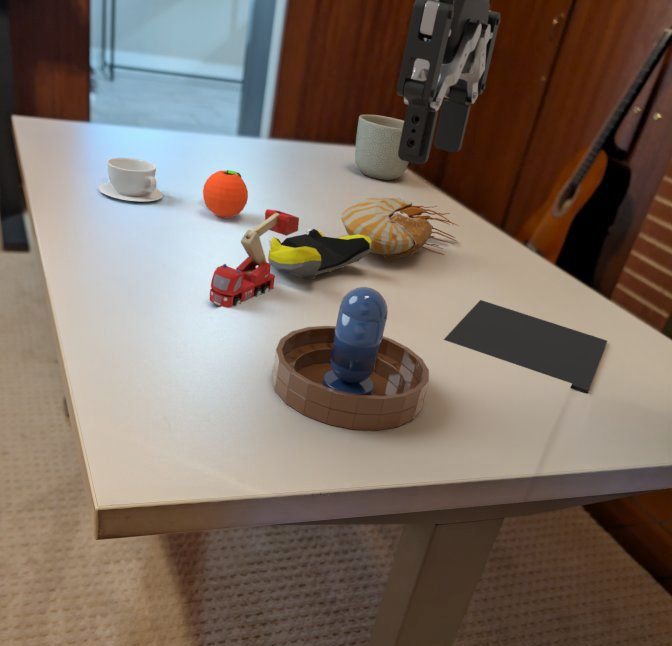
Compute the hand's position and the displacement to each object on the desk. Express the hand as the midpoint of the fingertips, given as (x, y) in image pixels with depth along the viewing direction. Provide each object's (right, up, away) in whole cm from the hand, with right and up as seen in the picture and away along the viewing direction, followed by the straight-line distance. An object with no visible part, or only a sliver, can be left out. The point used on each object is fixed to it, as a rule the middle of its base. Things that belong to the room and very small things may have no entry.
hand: (430, 155), depth 60 cm
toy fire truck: (-18, -5, +34) cm, 39 cm away
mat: (+17, -10, +37) cm, 42 cm away
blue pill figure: (-6, -17, +17) cm, 25 cm away
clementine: (-25, +13, +60) cm, 66 cm away
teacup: (-40, +17, +60) cm, 74 cm away
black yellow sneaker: (-11, +1, +45) cm, 46 cm away
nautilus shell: (+2, +7, +59) cm, 59 cm away
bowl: (-6, -18, +17) cm, 25 cm away
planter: (+2, +34, +101) cm, 107 cm away
